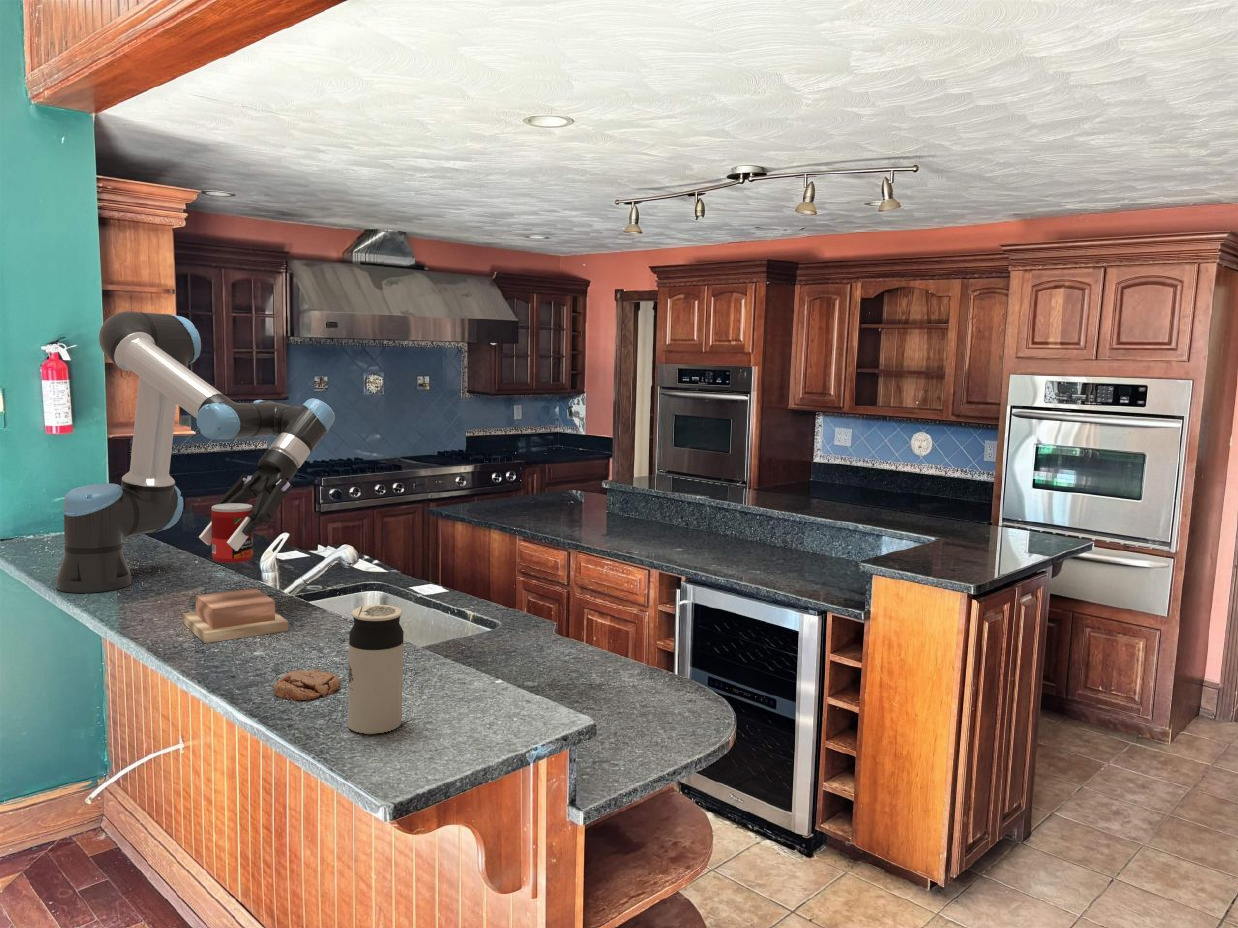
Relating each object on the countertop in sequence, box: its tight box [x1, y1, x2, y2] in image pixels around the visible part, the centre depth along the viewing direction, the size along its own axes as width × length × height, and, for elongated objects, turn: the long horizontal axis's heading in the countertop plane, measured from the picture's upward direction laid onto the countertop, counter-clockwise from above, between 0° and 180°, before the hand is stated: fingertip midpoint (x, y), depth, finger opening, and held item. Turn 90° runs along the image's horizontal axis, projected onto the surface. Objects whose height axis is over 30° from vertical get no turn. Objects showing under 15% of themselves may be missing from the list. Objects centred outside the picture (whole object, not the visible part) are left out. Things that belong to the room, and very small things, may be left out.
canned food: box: [210, 503, 254, 564], centre depth 182 cm, size 8×8×11 cm
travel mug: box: [347, 604, 405, 735], centre depth 136 cm, size 8×8×18 cm
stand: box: [182, 587, 289, 644], centre depth 183 cm, size 16×16×6 cm
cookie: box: [273, 669, 341, 701], centre depth 150 cm, size 10×11×3 cm
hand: (218, 543), depth 179 cm, fingers closed on canned food, 8 cm apart
